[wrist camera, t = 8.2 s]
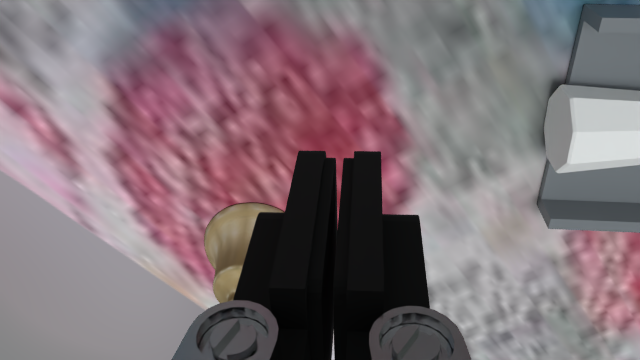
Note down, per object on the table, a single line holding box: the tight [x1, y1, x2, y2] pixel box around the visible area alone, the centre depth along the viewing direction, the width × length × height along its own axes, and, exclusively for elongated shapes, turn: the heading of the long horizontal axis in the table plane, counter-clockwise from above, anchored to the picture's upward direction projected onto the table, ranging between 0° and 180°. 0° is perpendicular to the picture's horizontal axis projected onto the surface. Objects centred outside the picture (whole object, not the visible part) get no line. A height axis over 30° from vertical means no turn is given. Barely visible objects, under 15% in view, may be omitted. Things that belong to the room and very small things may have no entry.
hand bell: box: [204, 203, 283, 303], centre depth 37 cm, size 8×8×16 cm
